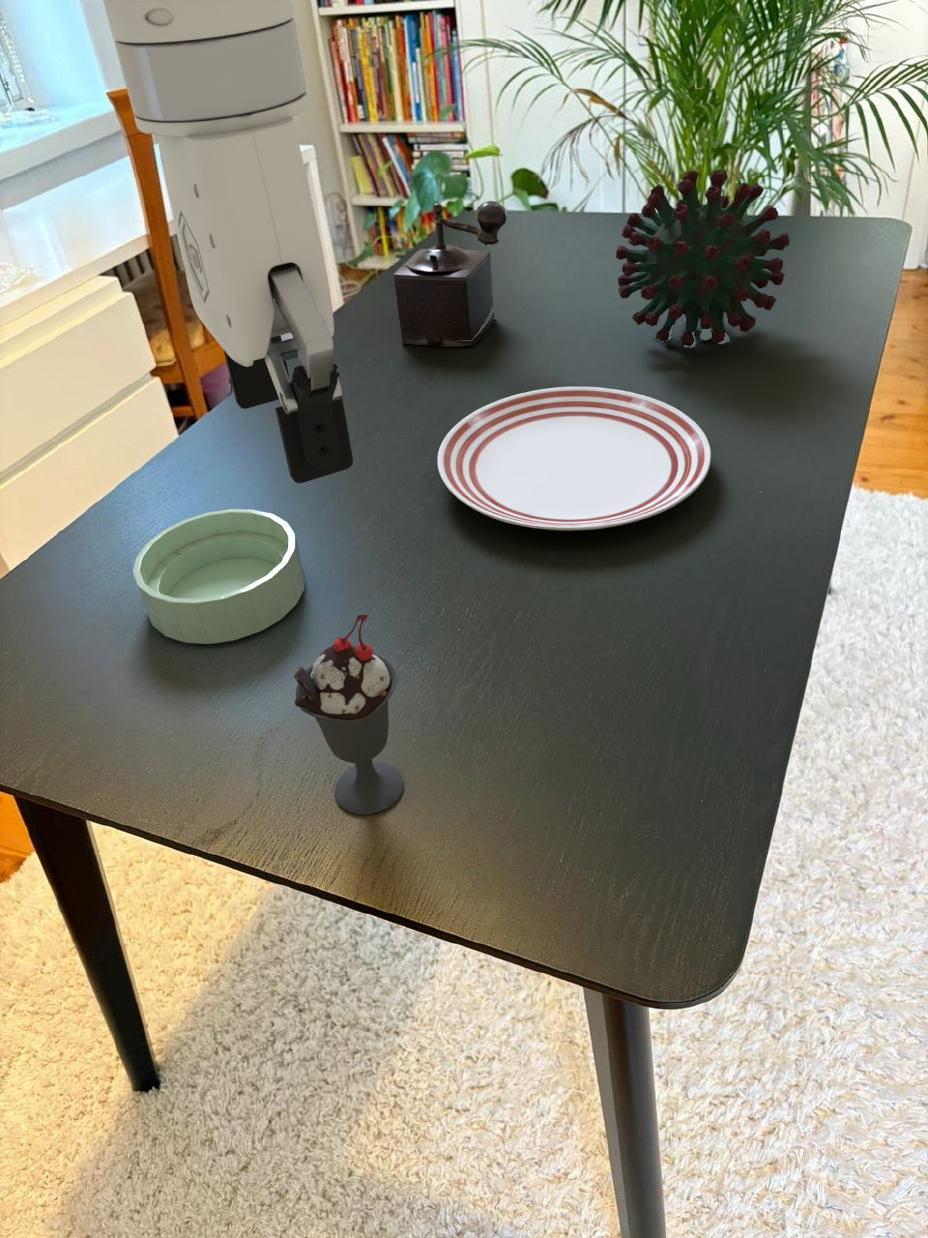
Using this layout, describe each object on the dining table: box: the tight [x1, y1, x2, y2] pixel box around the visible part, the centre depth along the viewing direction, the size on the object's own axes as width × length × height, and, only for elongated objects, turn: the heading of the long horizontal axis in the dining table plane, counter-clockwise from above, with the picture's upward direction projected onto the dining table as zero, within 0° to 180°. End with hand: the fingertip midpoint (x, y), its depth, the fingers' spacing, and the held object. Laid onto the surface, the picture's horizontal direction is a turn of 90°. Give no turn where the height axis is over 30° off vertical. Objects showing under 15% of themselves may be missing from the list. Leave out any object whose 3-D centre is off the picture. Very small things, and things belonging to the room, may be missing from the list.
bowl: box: [132, 508, 306, 645], centre depth 87 cm, size 14×14×5 cm
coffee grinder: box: [393, 200, 508, 348], centre depth 126 cm, size 16×11×18 cm
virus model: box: [615, 169, 790, 346], centre depth 117 cm, size 20×20×20 cm
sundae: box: [293, 613, 404, 816], centre depth 65 cm, size 7×7×15 cm
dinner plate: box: [437, 386, 712, 531], centre depth 99 cm, size 28×27×3 cm
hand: (292, 434), depth 52 cm, fingers open, 9 cm apart
